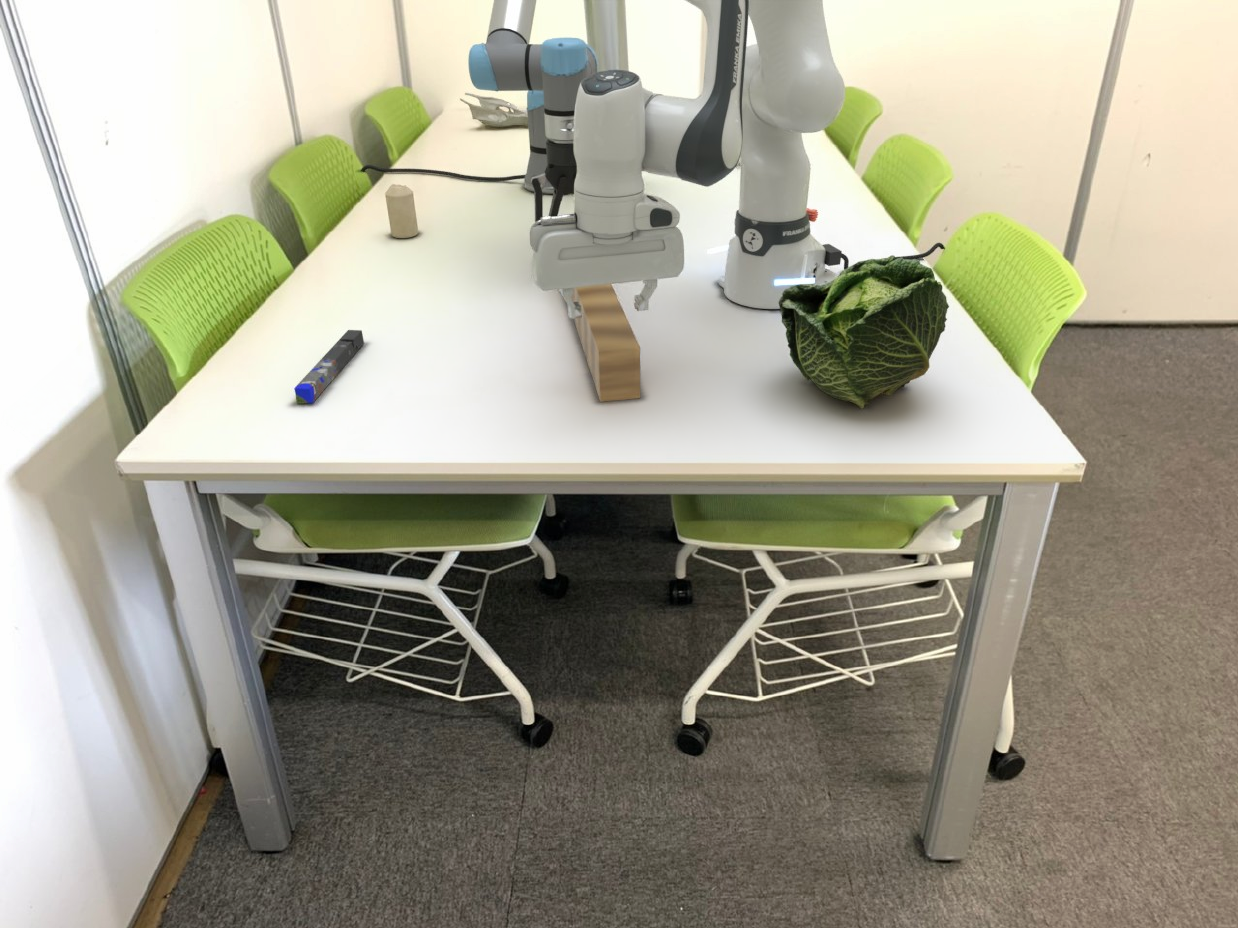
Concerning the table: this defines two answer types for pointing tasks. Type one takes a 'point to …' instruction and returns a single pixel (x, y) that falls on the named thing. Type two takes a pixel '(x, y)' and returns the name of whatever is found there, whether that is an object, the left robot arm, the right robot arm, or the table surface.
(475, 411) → the table surface
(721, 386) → the table surface
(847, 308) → the vegetable
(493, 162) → the table surface
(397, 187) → the candle
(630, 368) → the beam
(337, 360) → the pillar
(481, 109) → the anatomical model
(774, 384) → the table surface
